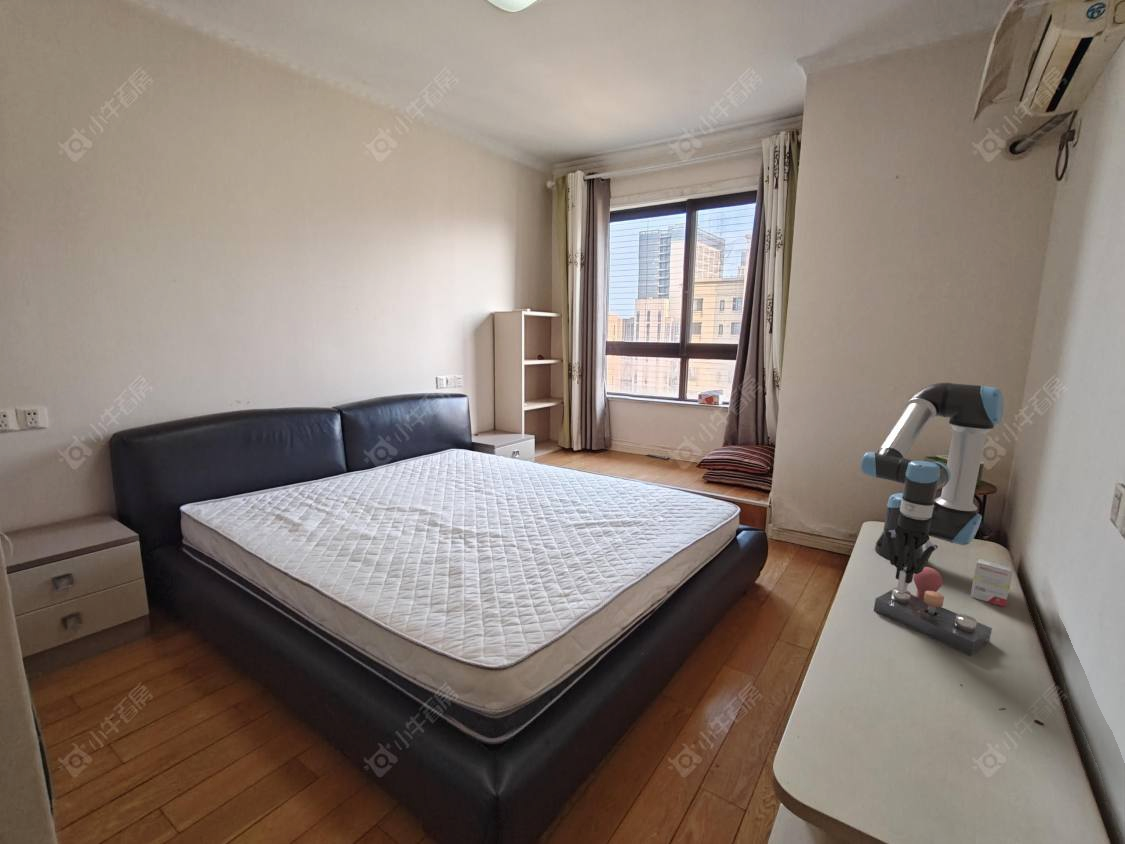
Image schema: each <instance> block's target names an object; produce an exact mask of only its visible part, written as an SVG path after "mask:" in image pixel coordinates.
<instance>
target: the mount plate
mask: <svg viewBox="0 0 1125 844" xmlns="http://www.w3.org/2000/svg"><path fill="white" fill-rule="evenodd" d="M892 591H893V589H891V590H889V591H887V592H885V593H883V594H882V595H879V596H877V597H876V598H875V599H874V606H873V612H876V613H878V614H880V615H882V616H884V617H887V618H888V619H890V620H893V621H895V622H897V623H899V624H901V625H904V626H905V627H908V628H910V629H912V630H913V631H917V632H918V633H920V634H922V635H925V636H927V637H929V638H931V639H933V640H935V641H938V642H940V643H941V644H943V645H946V646H948V647H950V648H951V649H952V648H953V649H954V650H956V651H959V652H961V653H963V654H965V655H967V656H969V657H972V656H973V655H974V654H975V653H977V652H978V651H979V650H980V649H982V648H983V647H984V646H985V645H987V644H988V643H989V642H990V639H991V635H992V629H993V627H990V626H988V625H985V624H983V623H981V622H978V621H977V625H976V630H975V632H966V631H963V630H961V629H959V628H957V627H956V626H955V620H956V615H958V614H959V613H957V612H955V611H952V610H949V609H947V608H944V607H943V606H942V607H936V609H935V614H934V616H933V615H930V614H928V613H927V612H928V607H929V605H928V604H926V603H925V602H924V601H923V599H921V598H919V597H916V595H913V594H911V595H910V600H909V603H900V602H897V601H895V600H893V599H892Z"/></svg>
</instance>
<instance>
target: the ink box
mask: <svg viewBox="0 0 1125 844" xmlns="http://www.w3.org/2000/svg"><path fill="white" fill-rule="evenodd" d="M1013 571H1014V567H1013V566H1009V565H1005V564H1002V563H998V562H995V561H991V560H988V559H984V558H978V559H977V561H976V565H975V570H974V575H973V581H972V586H971V591H970V598H973V599H978V600H980V601H984V602H987V603H991V604H993V605H996V606H1001V607H1003V608H1004V607H1007V601H1008V597H1009V596H1008V595H1009V593H1010V592H1009V591H1010V586H1011V582H1012V578H1013V577H1012V576H1013Z"/></svg>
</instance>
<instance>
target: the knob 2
mask: <svg viewBox="0 0 1125 844" xmlns="http://www.w3.org/2000/svg"><path fill="white" fill-rule="evenodd" d="M944 600H945V596H944V595H943V594H942V593H939V592H938V591H937V592H934V591H925V595H924V600H923V601H924V602H925V603H926V604H928V605H929V607H928V612H927V613H928V614H930V615H933V616H934V614H935V609H936V607H942V608H943V605H944Z"/></svg>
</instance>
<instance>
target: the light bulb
mask: <svg viewBox="0 0 1125 844" xmlns="http://www.w3.org/2000/svg"><path fill="white" fill-rule="evenodd" d="M912 580H913V582H914V584H915V587H916V589H917V591H916V594H915V596H916V597H919V598H921V599H923V600H924V595H925V591H934V592H937V593H938V591H939V590H940V588H941V587H942V585H943V577H942V575H941V573H939V571H937V570H936V569H934V568H932V567H929V566H925V567H924V569H923V571H922V572H920V573H918V574H913V579H912Z"/></svg>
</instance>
